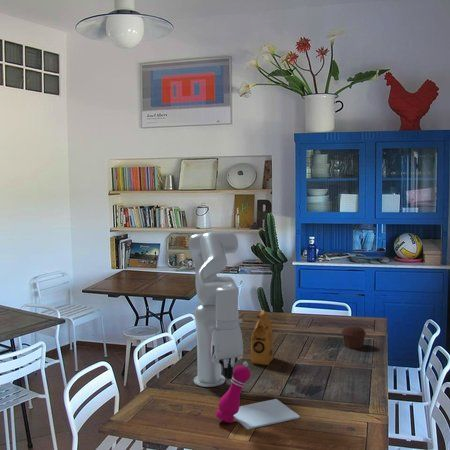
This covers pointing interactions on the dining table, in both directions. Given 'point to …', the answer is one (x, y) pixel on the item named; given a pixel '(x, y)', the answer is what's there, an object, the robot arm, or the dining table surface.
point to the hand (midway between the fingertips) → (227, 377)
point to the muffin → (353, 336)
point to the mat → (264, 414)
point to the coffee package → (262, 341)
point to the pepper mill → (233, 394)
